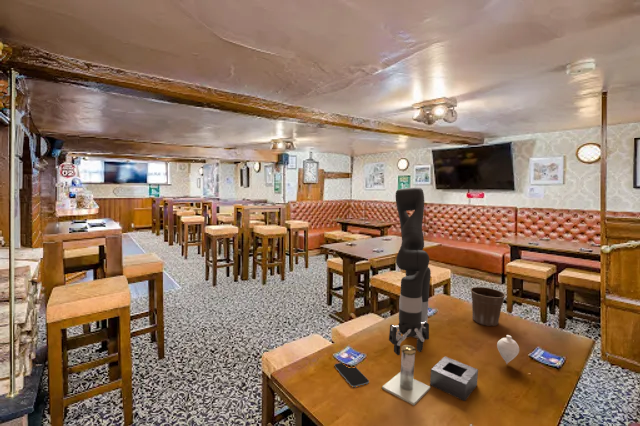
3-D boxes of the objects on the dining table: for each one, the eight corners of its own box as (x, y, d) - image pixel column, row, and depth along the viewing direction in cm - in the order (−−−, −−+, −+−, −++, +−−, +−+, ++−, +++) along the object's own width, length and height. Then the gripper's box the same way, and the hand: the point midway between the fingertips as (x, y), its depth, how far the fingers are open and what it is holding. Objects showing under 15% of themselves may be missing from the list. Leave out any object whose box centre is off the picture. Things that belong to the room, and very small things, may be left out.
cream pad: (382, 388, 111) (382, 386, 111) (399, 374, 120) (399, 372, 120) (413, 405, 103) (414, 403, 103) (430, 388, 111) (430, 386, 111)
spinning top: (506, 371, 123) (509, 341, 122) (491, 360, 130) (493, 332, 129) (522, 368, 125) (525, 339, 124) (506, 358, 132) (508, 330, 131)
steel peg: (403, 391, 108) (406, 352, 107) (396, 383, 113) (398, 345, 111) (416, 389, 110) (418, 351, 108) (408, 381, 114) (410, 344, 113)
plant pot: (503, 319, 171) (505, 290, 169) (502, 331, 157) (505, 299, 156) (470, 312, 179) (472, 284, 178) (466, 323, 166) (468, 293, 164)
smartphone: (349, 360, 128) (370, 381, 114) (349, 362, 128) (370, 384, 114) (333, 364, 125) (352, 386, 111) (333, 366, 125) (352, 389, 111)
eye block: (430, 385, 114) (430, 369, 113) (443, 371, 122) (444, 356, 122) (464, 401, 105) (465, 384, 105) (476, 385, 114) (478, 369, 113)
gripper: (397, 314, 103) (395, 361, 104) (435, 309, 107) (432, 355, 108) (386, 305, 110) (384, 349, 112) (422, 301, 114) (420, 344, 116)
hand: (408, 352), depth 110 cm, fingers open, 8 cm apart
